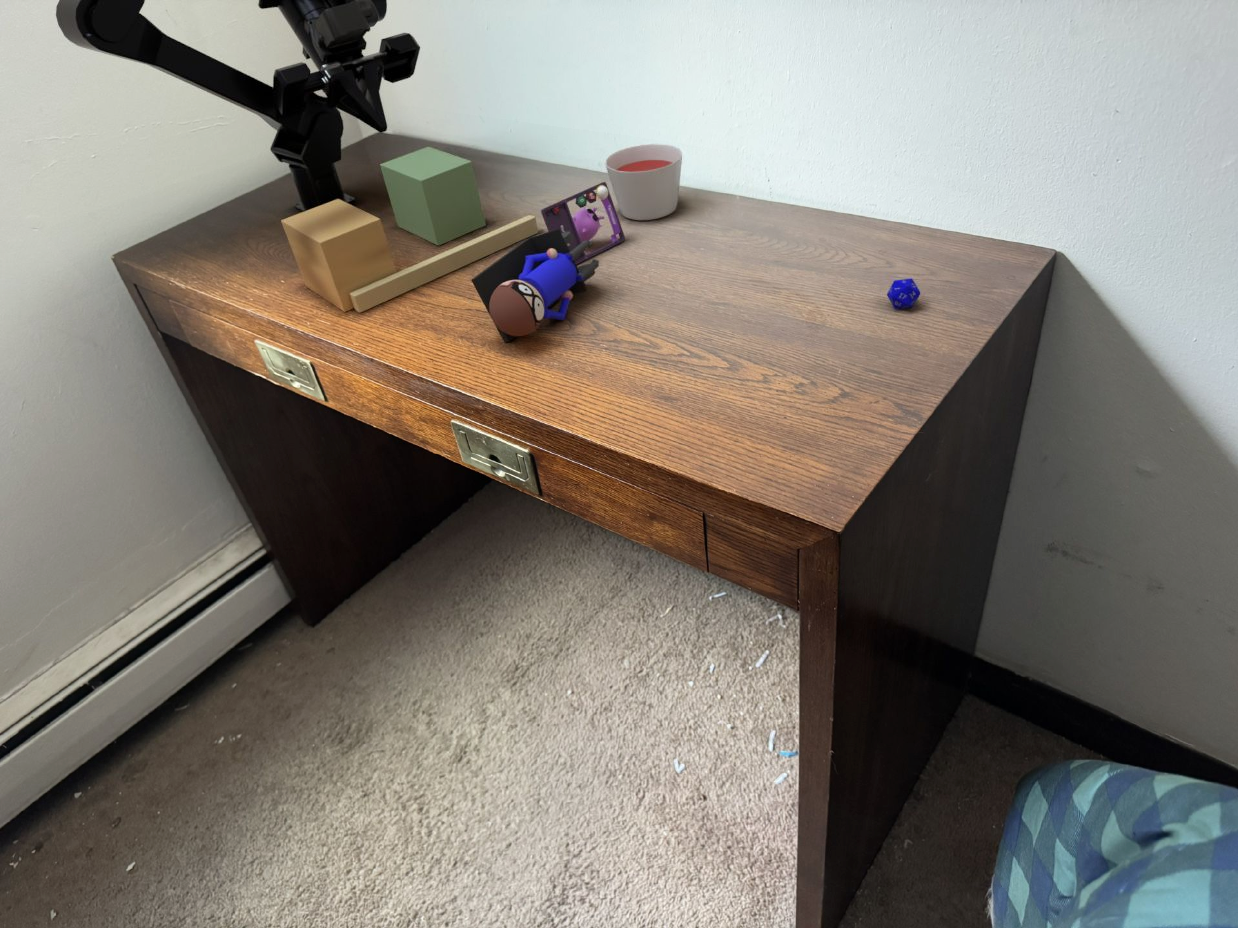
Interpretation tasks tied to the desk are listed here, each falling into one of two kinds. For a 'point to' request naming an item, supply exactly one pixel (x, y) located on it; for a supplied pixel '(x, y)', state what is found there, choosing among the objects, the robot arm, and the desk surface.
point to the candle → (646, 180)
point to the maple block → (339, 250)
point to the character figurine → (533, 282)
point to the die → (903, 293)
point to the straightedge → (442, 264)
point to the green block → (434, 194)
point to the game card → (583, 219)
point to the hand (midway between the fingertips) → (384, 130)
